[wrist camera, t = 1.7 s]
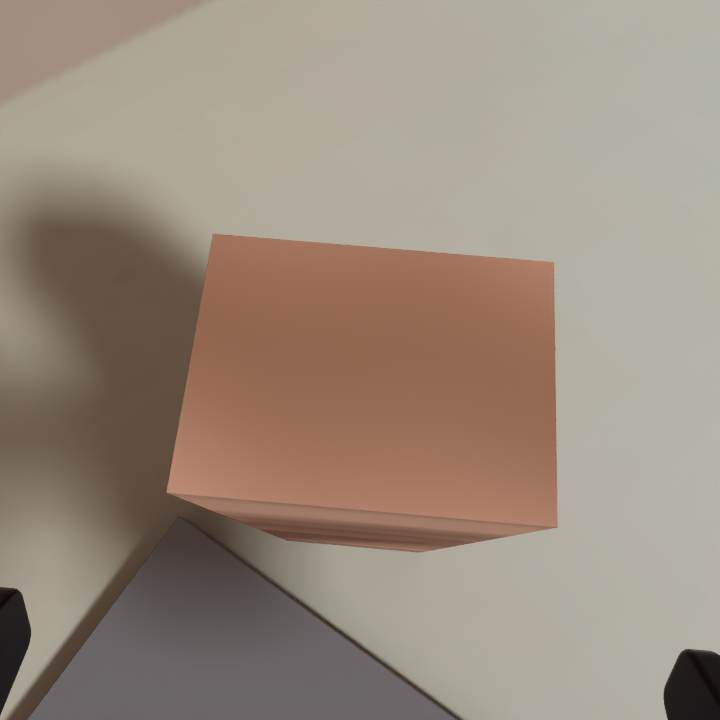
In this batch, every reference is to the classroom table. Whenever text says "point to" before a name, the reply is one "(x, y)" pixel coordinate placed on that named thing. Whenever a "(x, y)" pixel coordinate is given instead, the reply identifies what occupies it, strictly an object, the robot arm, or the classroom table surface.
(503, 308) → the terracotta block
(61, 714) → the charcoal mat
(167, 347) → the classroom table surface
